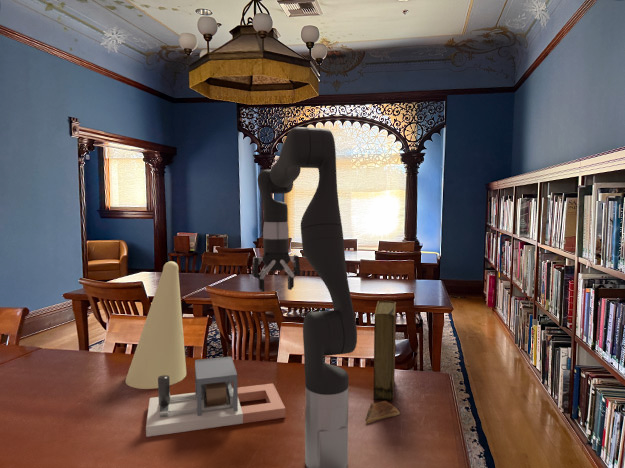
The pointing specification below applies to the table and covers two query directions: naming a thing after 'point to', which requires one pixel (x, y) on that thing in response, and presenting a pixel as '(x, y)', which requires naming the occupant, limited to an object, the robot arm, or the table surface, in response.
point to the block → (215, 393)
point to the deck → (215, 412)
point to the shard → (380, 411)
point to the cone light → (161, 336)
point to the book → (384, 350)
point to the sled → (165, 398)
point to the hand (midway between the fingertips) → (276, 290)
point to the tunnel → (215, 377)
